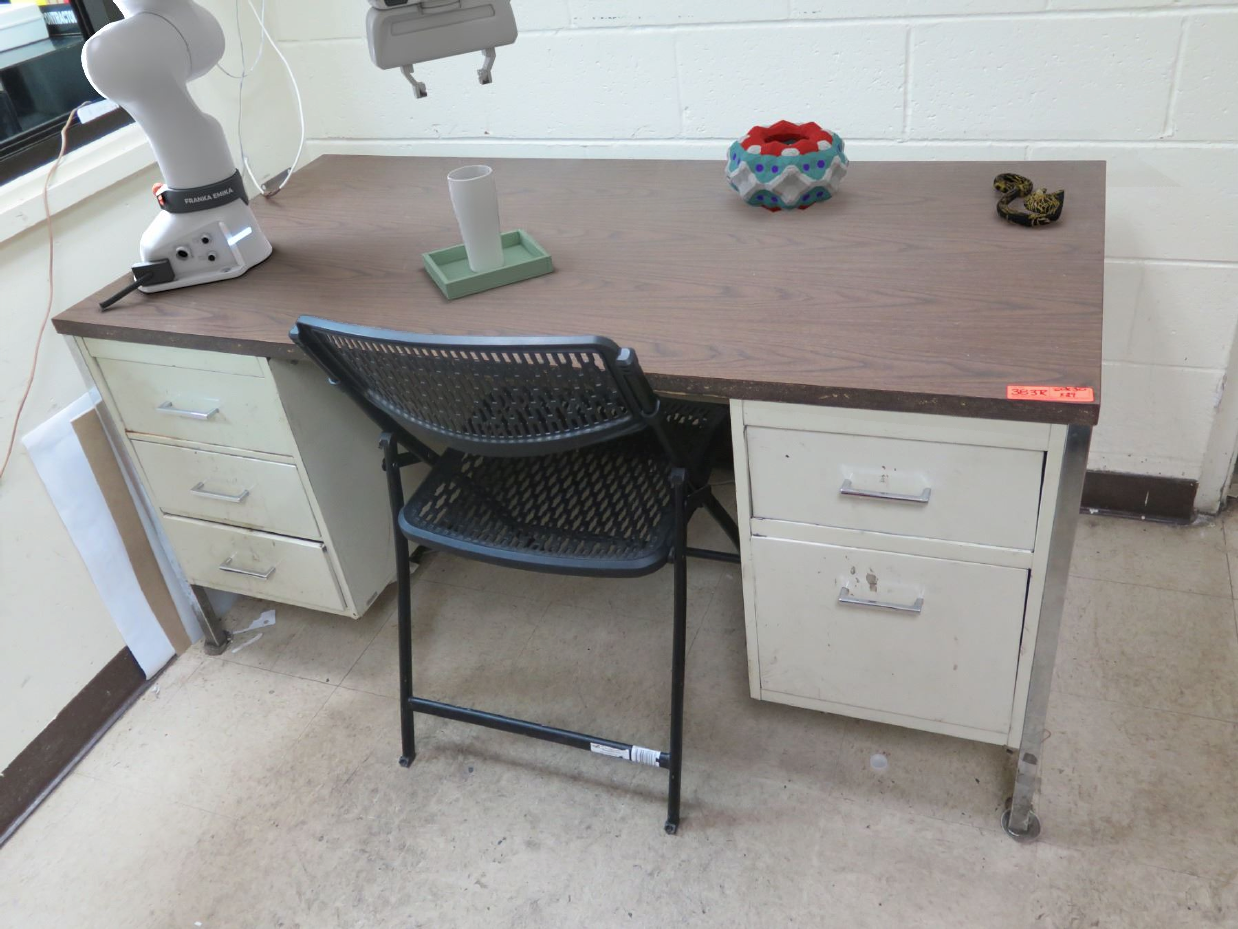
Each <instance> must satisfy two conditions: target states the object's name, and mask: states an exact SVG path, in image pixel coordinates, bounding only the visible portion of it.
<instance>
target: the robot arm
mask: <svg viewBox="0 0 1238 929" xmlns="http://www.w3.org/2000/svg"><path fill="white" fill-rule="evenodd" d="M112 1H113V2H114V3H115V4H116V6H117V7H118V8H119V10H120V11H121V13H122V14H123V16H124V18H123V19H120V20H117V21H114V22H110V23H109V24H107V25H105V26H103V27H102V28H101V29H100V30H98V31H97V32H96V33H95V34H93V35H92V36H91V37H90V38H89V39H87V41H85V44H84V45H83V48H82V50H81V63H82V68H83V70H84V74H85V76H86V78H87V79H88V81H89V83H90V84H91V86H92V87H93V88H94V89H95V90H96V92H98V94H100V95H101V96H102V97H104V98H105V99H107V100H108V101H110V102H112V103H115V104H116V105H118V106H120V107H121V108H123V110H125V111H126V112H127V113H128V114H129V115H130V116H131V117H132V119H133V120H134V121H135V122H136V123H137V125H138V127H139V128H140V130H141V131H142V132H143V134H144V136H145V137H146V139H147V141H148V143H149V145H150V147H151V150H152V152H153V155H154V157H155V160H156V163H157V164H158V167H159V169H160V173H161V174H162V177H163V180H164V182H165V183H164V184H163V183H161V182H156V183H154V184H153V185H152V186H153V187H152V193H153V195H154V196H155V197H156V199H157V203H158V205H159V207H160V209H161V211H160V212H159V214H158V215H157V216H156V217H155V219H154V220H153V221H152V223H151V224H150V225H149V226H148V228H147V229H146V230H145V231H144V233H143V234H142V236H141V239H140V244H139V245H140V247H139V252H140V258H141V261H140V262H134V263H133V264H132V265H131V267H130V270H131V271H132V274H133V280H134V282H132V283H131V284H129V285H127V286H126V287H125V288H122V289H121V290H120V291H118V292H116V293H115V294H114V295H113V296H111V297H109V298H107V299H106V300H104V301H101V302H99V307H100V308H101V309H102V310H104V309H107V308H109V307H110V306H112V305H114V304H115V303H117V302H118V301H120V300H122V299H123V298H124V297H126V296H128V295H129V294H131V293H132V292H133V291H135V290H137V289H138V290H139V291H141V292H143V293H146V294H147V293H148V294H149V293H156V292H161V291H166V290H173V289H178V288H183V287H189V286H196V285H200V284H206V283H212V282H217V281H221V280H229V279H233V278H238V277H240V276H242V275H243V274H244V273H245V272H246V271H248V270H249V269H250V268H252V267H253V266H255V265H257V264H259V263H261V262H264V260H266V259H267V258H268V257H269V256H270V255H271V254H272V252H273V246H272V244H271V243H270V242H269V241H268V239H267V237H266V236H265V234H264V233H263V231H262V230H261V227H260V225H259V224H258V223H259V222H258V221H257V219H256V217H255V214H254V213H253V211H252V209H251V206H250V198H249V194H248V190H247V188H246V185H245V184H246V183H245V181H244V179H243V178H244V177H243V175H242V174H241V173H240V170H239V168H237V167H236V165H235V162H234V159H233V156H232V153H231V149H230V146H229V143H228V141H227V138H226V134H225V132H224V129H223V126H222V124H221V123H220V122H219V120H218V119H217V118H216V117H215V116H213V115H211V114H209V113H206V112H204V111H202V110H201V109H200V107H199V106H198V104H197V103H196V101H195V100H194V99H193V97H192V96H191V94H190V92H189V89H188V87H187V84H188V83H190V82H192V81H195V80H198V79H199V78H201V77H204V76H205V75H206V74H208V73H209V72H210V71H211V70H212V69H213V68H214V67H215V66H216V65H217V64H218V63H219V62H220V61H221V59H222V58H223V56H224V54H225V50H226V38H225V34H224V31H223V28H222V26H221V24H220V22H219V21H218V19H217V18H216V17H215V16H214V15H213V14H212V13H211V11H210V10H208V9H207V8H205V7H203V6H202V5H200V4H199V3H197V2H195V1H194V0H112ZM366 2H367V3H368V4H369V5H370V6H371V7H369V9H368V11H367V13H366V15H365V33H366V41H367V47H368V52H369V57H370V60H371V62H372V63H373V64H374V66H376V67H377V68H378V69H380V70H382V71H387V70H391V69H396V68H399V70H400V73H401V74H402V75H403V77H404V78H405V79H406V80H407V81H408V82H409V84H411V86H412V92H413V95H414V98H415V99H416V100H417V99H418V100H419V99H422V98H427V97H428V92H427V91H426V90H427V85H426V84H425V82H424V81H417V80H416V79H415V78H414V76H413V75H412V74H414V73H415V69H414V65H416V64H421V63H425V62H430V61H435V60H439V59H445V58H449V57H455V56H459V55H465V54H469V53H475V52H480V51H481V55H482V56H483V57H484V61H483V63H482V64H483V65H482V68H480V69H477V70H476V73H477V76H478V82H479V85H482V86H484V85H489V84H492V83H493V77H492V72H491V70H492V69H493V66H494V63H495V60H496V57H497V53H496V48H499V47H504V46H508V45H513V44H515V43H516V40H517V39H518V36H519V32H518V26H517V22H516V18H515V14H514V10H513V6H512V4H511V0H366Z"/></svg>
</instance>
